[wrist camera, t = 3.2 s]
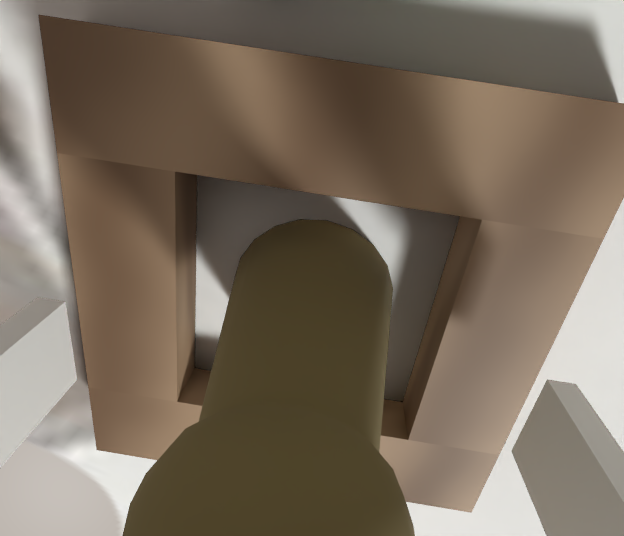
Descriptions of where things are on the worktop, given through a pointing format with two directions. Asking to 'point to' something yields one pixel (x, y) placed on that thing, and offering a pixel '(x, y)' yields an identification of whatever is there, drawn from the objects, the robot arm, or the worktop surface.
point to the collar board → (333, 182)
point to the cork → (288, 402)
